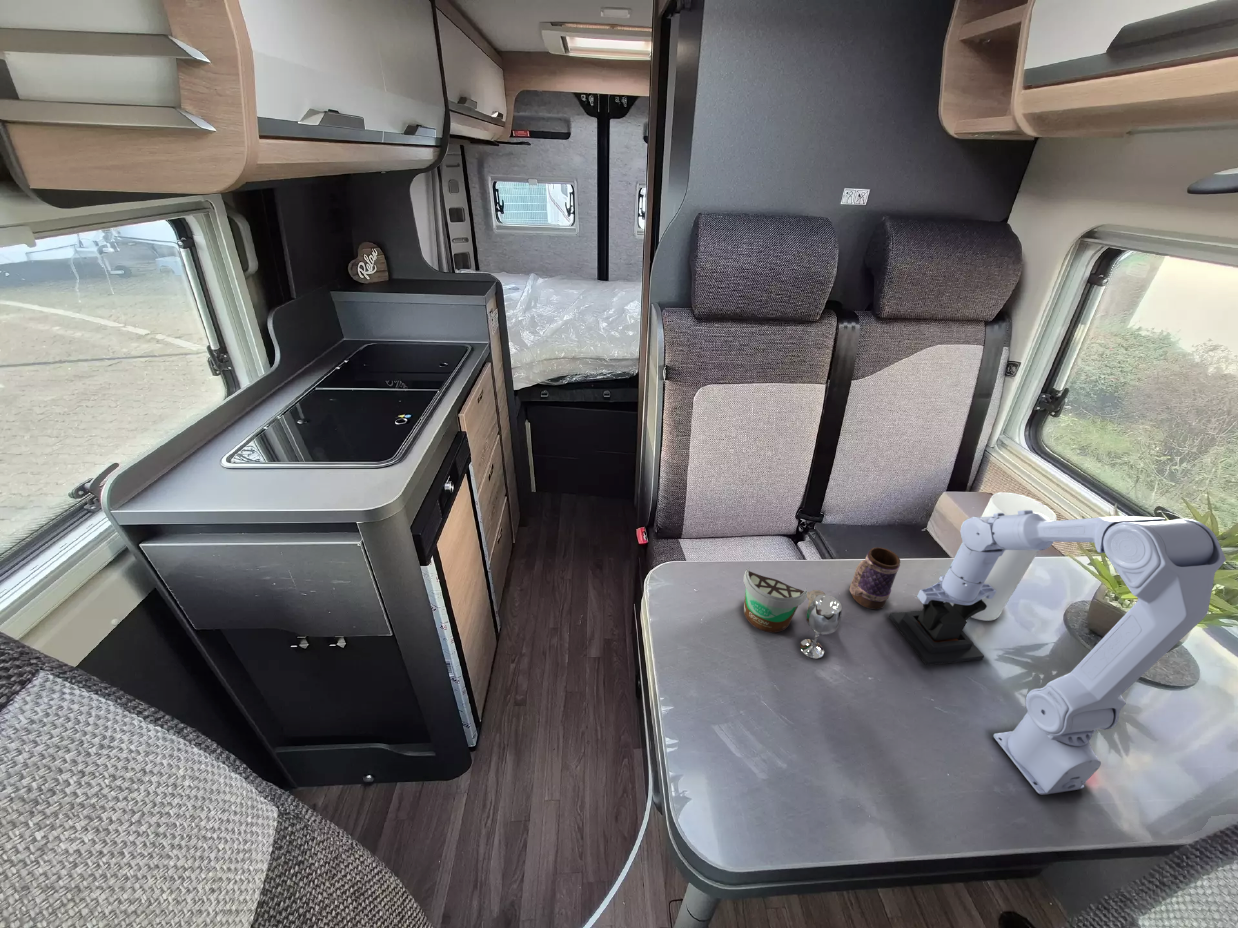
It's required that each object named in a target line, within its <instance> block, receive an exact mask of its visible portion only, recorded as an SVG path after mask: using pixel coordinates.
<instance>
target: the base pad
mask: <svg viewBox="0 0 1238 928" xmlns="http://www.w3.org/2000/svg"><path fill="white" fill-rule="evenodd" d="M921 611H922V610H912V611H901V612H890V613H889V615H888V617H889V619H890V620H891V621H892V623H893V624H894V626H895V627H896V628H897V629H898V631H899V632H900V633H901V634H902V636H903V637H904V639H905V640H906V641H907V642H908V644H909V645H910V646H911V648H912V649H913V651H914V652H915V653H916V654H917V655H918V657H919V658H920V659H921V661H922V662H923V663H924V665H925V666H932V665H941V664H942V665H943V664H952V663H962V662H971V661H979V660H983V659H984V657H985V655H984V654H983V653H982V652H981V650H980V649H979V648H978V647H977V646H976V645H975V643H974V641H972V639H971V638H970V637H969V636H968V635H967V633H965V631H964V630H963V631H962V632H961V634H960V636H959V638H958V639H948V640H938V641H934V640H933V639H932V638H931V636H930V635H929V634H928V633H927V632H926V630H925V629H924V628H923V627H922V625H921V624H920V623H919V622H918V621H917V619H918V617H919V615H920V613H921Z"/></svg>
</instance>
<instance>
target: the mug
mask: <svg viewBox="0 0 1238 928" xmlns="http://www.w3.org/2000/svg"><path fill="white" fill-rule="evenodd" d="M900 566H901V558H900V557H899V556H898V555H897V554H896V553H895V552H894V551H892V550H890V549H887V548H884V547H878V546H877V547H873V548H871V549H869V551H868V552H867V554H866V556H865V559H863V560H861V561H860V562H859V563H858V565H857V566H856V568H855V571H854V575H853V578H852V580H851V582H850V585H849V592H850V594H851V596H852V598H853V599H854V600H855V602H856V603H858V604H859V605H861V606H862V607H864V608H867V609H872V610H878V609H882V608H884V607H885V605H886V604H887V601H888V600H889V598H890V595H891V593H892V587H893V584H894V582H895V579H896V577H897V574H898V571H899V570H900Z"/></svg>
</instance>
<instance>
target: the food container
mask: <svg viewBox="0 0 1238 928" xmlns="http://www.w3.org/2000/svg"><path fill="white" fill-rule="evenodd" d="M743 584H744V586H745V593H744V603H743V615H744V616H745V618H746V620H747V621H748V623H750V624H751V626H753V627H754V628H756V629H758V630H759V631H763V632H767V633H779V632H782V631H783V632H784V630H786V629H787V628H788V627H789V626H790V624H791V622H792V620H793V618H794V616H795V614H796V612H797V610H798V608H799V606H801V605H802V604H803V603H804V602H805V601H806V600H807V599H808V598H807V592H808V590H807V588H805V589H804V590H802V589H800V588H796V587H793V586H791V585H789V584H786V583H785V582H783V581H780V580H778V579H776V578H772V577H768V576H764V575H761V574H759V573H755V572H753V571H750V567H747V569H746V570H745V572H744V574H743Z"/></svg>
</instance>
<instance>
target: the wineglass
mask: <svg viewBox="0 0 1238 928" xmlns="http://www.w3.org/2000/svg"><path fill="white" fill-rule="evenodd" d="M842 609H843V607H842V604H841V602H840V601H839V600H838V599H837V598H835V597H834V596H832V595H829V594H826V595H824V594H822V595H818V596H816V598H815V599H814V600H813V601H812V603H811V604H810V606H809V608H808V607H807V610H806V615H805V620H806V623H807V625H808V627H809V628H810V629H811V630H812V631H813V632H814V639H811V638H806V639H802V640H801V641H800V643H799V648H800V651H801V652H802V653H803V654H804V655H805V656H806V657H808V658H810V659H816V660H817V659H821V658H823V657H824V655H825V649H824V647H823V646H822V644H820V643H819V642H818V638H819V637H820V635H822V636H823V635H824V636H827V635H831V634H833V633H835V632H836V631H837V629H838V628H839V626H840V624H841V621H842V613H843V610H842Z"/></svg>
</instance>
